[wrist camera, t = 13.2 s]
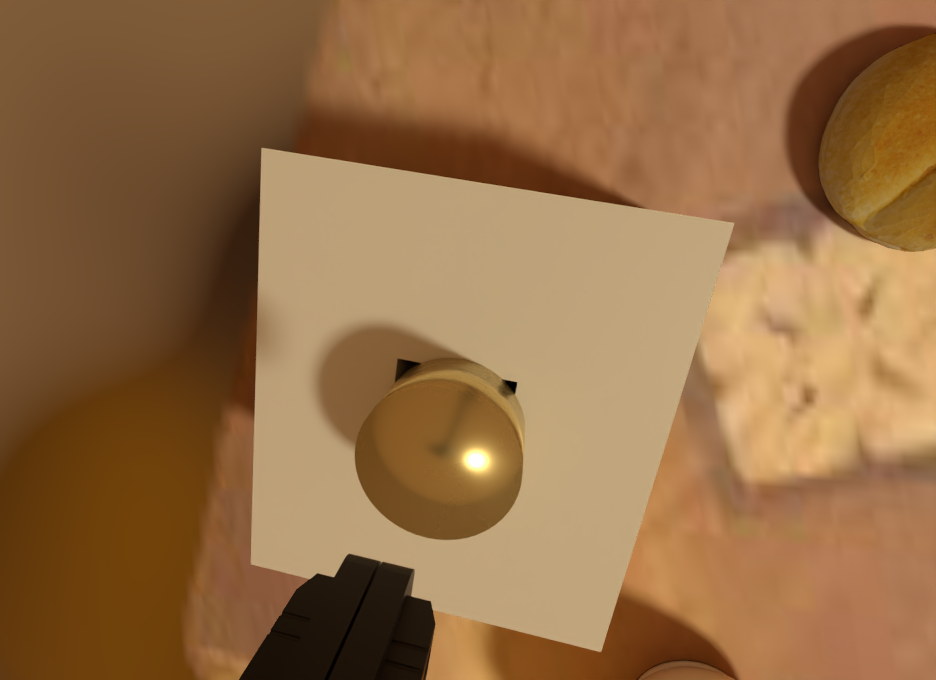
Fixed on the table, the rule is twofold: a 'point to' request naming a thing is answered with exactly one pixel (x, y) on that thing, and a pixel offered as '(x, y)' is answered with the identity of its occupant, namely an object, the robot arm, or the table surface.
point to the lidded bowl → (684, 672)
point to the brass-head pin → (443, 450)
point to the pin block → (481, 341)
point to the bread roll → (886, 149)
